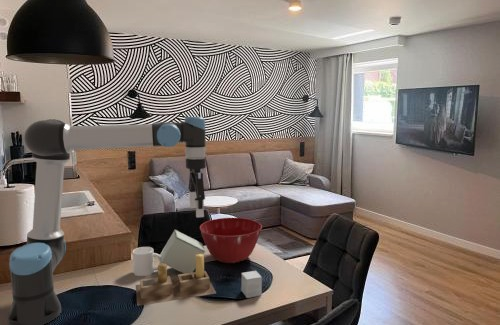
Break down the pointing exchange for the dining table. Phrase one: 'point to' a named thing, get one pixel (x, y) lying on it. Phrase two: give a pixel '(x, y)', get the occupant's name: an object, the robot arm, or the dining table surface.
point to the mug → (144, 261)
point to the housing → (181, 252)
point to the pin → (199, 265)
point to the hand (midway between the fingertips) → (196, 212)
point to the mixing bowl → (230, 238)
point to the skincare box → (251, 284)
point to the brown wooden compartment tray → (172, 287)
